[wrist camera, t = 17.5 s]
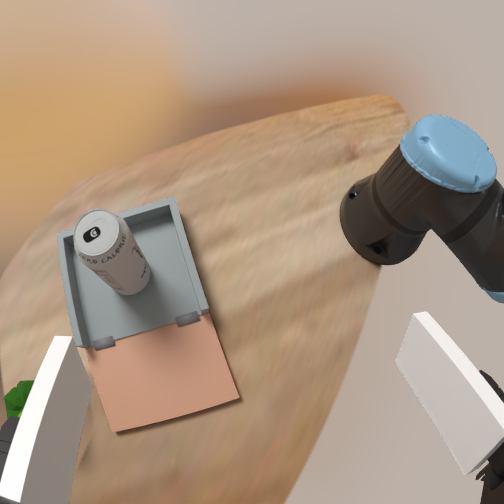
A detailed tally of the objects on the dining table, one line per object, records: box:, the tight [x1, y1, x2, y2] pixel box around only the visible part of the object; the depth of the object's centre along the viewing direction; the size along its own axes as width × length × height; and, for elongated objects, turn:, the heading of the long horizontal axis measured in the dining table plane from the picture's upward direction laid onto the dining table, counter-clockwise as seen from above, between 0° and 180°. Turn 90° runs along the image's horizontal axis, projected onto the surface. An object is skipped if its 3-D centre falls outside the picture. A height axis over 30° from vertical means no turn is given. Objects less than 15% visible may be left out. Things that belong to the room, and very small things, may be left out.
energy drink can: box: [73, 209, 150, 295], centre depth 35 cm, size 6×6×15 cm
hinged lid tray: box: [57, 196, 240, 432], centre depth 39 cm, size 18×28×4 cm, turn 20°
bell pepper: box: [4, 380, 34, 418], centre depth 30 cm, size 8×8×10 cm
